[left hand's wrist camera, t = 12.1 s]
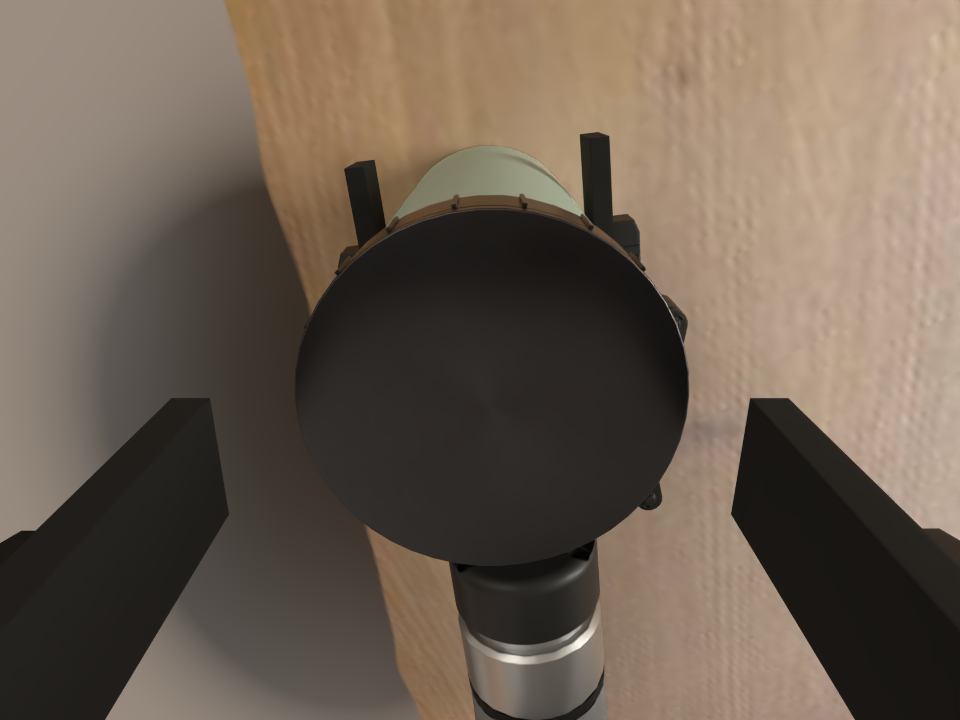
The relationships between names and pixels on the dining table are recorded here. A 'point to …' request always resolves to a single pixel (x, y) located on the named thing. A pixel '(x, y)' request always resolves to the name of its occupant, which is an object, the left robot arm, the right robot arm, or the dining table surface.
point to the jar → (487, 179)
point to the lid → (491, 382)
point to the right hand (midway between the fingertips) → (475, 150)
